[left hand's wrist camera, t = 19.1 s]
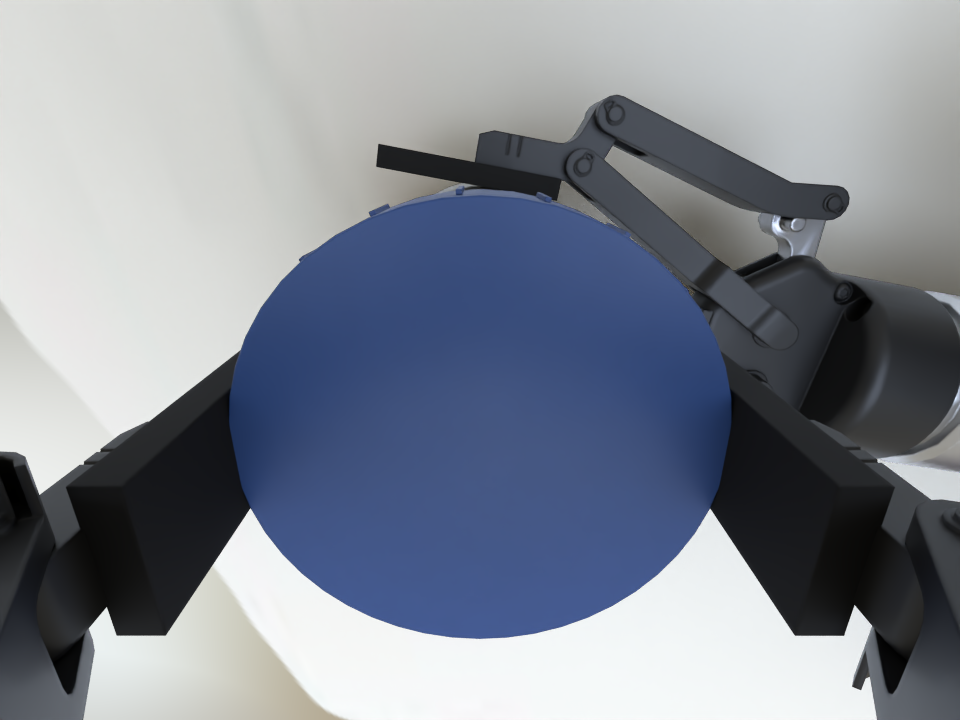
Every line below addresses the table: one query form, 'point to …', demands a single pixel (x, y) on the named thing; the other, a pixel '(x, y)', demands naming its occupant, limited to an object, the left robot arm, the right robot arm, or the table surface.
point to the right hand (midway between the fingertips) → (371, 284)
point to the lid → (480, 415)
